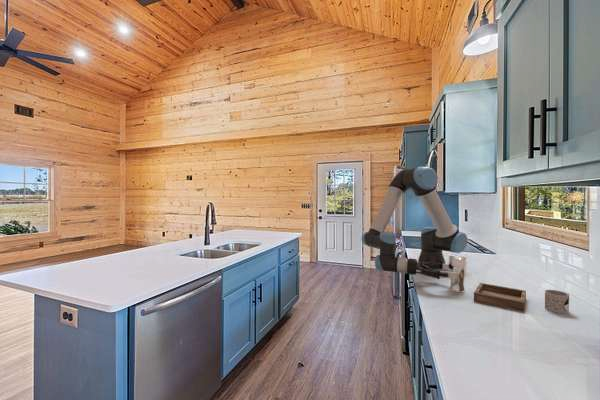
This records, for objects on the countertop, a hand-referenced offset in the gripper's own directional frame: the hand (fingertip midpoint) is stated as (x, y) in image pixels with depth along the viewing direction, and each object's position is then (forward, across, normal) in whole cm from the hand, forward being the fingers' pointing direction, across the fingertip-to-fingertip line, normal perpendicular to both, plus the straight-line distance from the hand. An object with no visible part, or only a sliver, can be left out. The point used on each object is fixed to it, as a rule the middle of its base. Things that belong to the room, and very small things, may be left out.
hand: (457, 272), depth 126 cm
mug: (+32, +4, -9) cm, 34 cm away
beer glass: (0, 0, -9) cm, 9 cm away
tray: (+15, +4, -8) cm, 18 cm away
